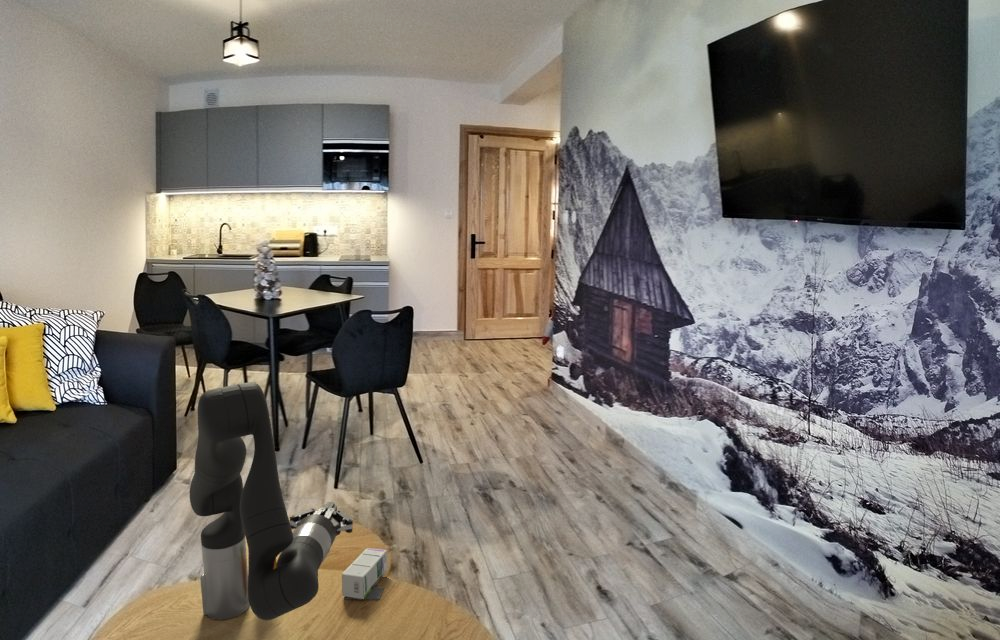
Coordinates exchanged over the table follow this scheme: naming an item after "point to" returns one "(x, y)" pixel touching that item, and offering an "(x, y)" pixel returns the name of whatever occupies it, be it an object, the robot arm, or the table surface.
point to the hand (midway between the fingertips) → (331, 506)
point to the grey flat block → (371, 594)
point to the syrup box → (364, 573)
